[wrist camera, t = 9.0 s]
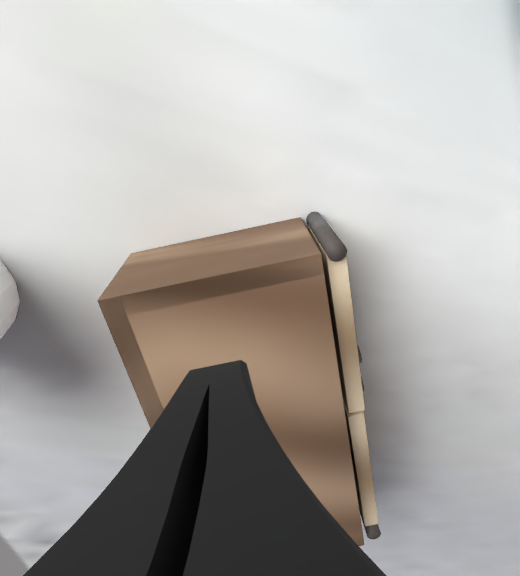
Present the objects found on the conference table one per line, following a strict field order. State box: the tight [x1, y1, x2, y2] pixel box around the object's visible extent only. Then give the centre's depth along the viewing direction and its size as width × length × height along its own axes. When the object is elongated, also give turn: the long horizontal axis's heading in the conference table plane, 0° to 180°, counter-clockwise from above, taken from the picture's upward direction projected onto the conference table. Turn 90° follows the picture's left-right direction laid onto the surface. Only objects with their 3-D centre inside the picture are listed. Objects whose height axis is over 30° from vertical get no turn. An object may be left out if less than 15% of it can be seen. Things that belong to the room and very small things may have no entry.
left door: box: [342, 378, 381, 539], centre depth 21 cm, size 8×1×5 cm, turn 12°
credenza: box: [98, 212, 365, 546], centre depth 20 cm, size 16×10×5 cm, turn 12°
